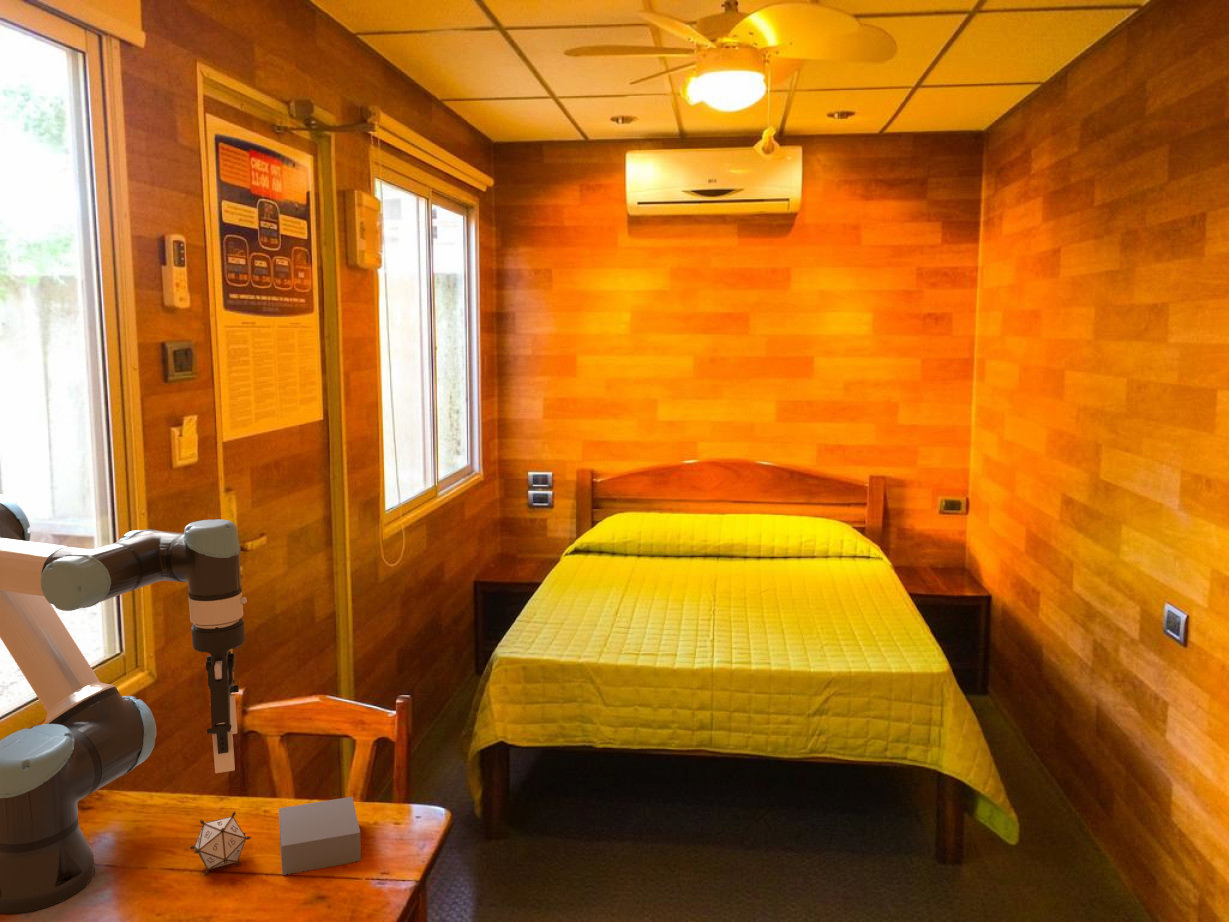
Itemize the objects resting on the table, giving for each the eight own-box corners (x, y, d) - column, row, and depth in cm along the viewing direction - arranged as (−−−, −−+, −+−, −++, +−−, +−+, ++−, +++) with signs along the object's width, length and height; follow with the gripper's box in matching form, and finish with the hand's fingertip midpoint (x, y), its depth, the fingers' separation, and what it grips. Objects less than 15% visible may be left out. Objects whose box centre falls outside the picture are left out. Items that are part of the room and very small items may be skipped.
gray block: (282, 875, 147) (281, 846, 146) (279, 835, 158) (278, 808, 157) (360, 860, 151) (360, 832, 151) (352, 823, 162) (352, 796, 162)
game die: (208, 890, 149) (167, 843, 147) (248, 848, 155) (209, 803, 154) (232, 884, 143) (189, 836, 142) (272, 841, 150) (232, 795, 148)
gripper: (242, 643, 133) (251, 783, 136) (245, 596, 156) (253, 716, 159) (184, 650, 130) (195, 792, 133) (196, 601, 153) (205, 723, 157)
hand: (226, 751), depth 146 cm, fingers open, 13 cm apart
